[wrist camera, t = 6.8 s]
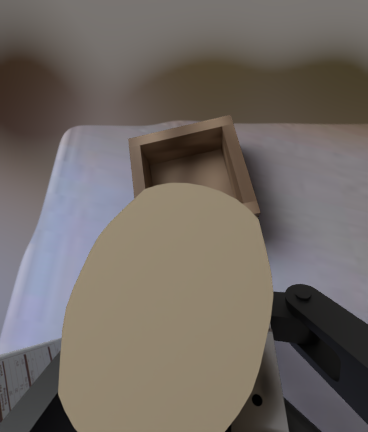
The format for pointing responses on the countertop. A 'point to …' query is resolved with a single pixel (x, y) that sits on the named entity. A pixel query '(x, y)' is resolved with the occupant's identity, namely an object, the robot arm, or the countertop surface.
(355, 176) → the countertop surface
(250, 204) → the open wooden box
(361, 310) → the countertop surface
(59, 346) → the supplement box
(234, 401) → the handle
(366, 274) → the countertop surface
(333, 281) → the countertop surface
